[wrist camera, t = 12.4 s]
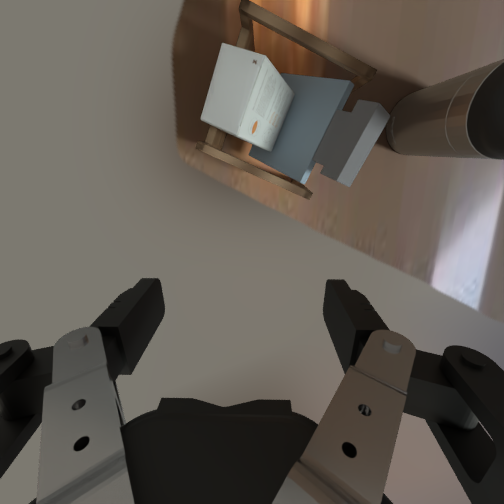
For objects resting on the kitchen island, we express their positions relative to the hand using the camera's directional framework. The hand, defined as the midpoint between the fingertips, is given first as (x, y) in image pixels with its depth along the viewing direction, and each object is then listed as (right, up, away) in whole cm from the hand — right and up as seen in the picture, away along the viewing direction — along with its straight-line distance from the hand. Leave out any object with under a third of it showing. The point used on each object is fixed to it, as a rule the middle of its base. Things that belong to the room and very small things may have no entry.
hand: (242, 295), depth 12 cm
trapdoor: (+9, +18, +21) cm, 29 cm away
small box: (+3, +21, +24) cm, 32 cm away
